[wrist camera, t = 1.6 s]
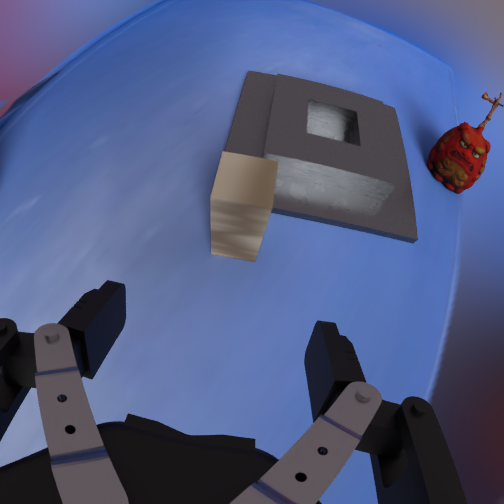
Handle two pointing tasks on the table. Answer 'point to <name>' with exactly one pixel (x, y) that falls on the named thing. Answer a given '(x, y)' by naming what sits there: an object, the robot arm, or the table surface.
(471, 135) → the red clay folk toy
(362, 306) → the table surface
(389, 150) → the socket plate
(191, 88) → the table surface
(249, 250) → the maple block
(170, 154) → the table surface
